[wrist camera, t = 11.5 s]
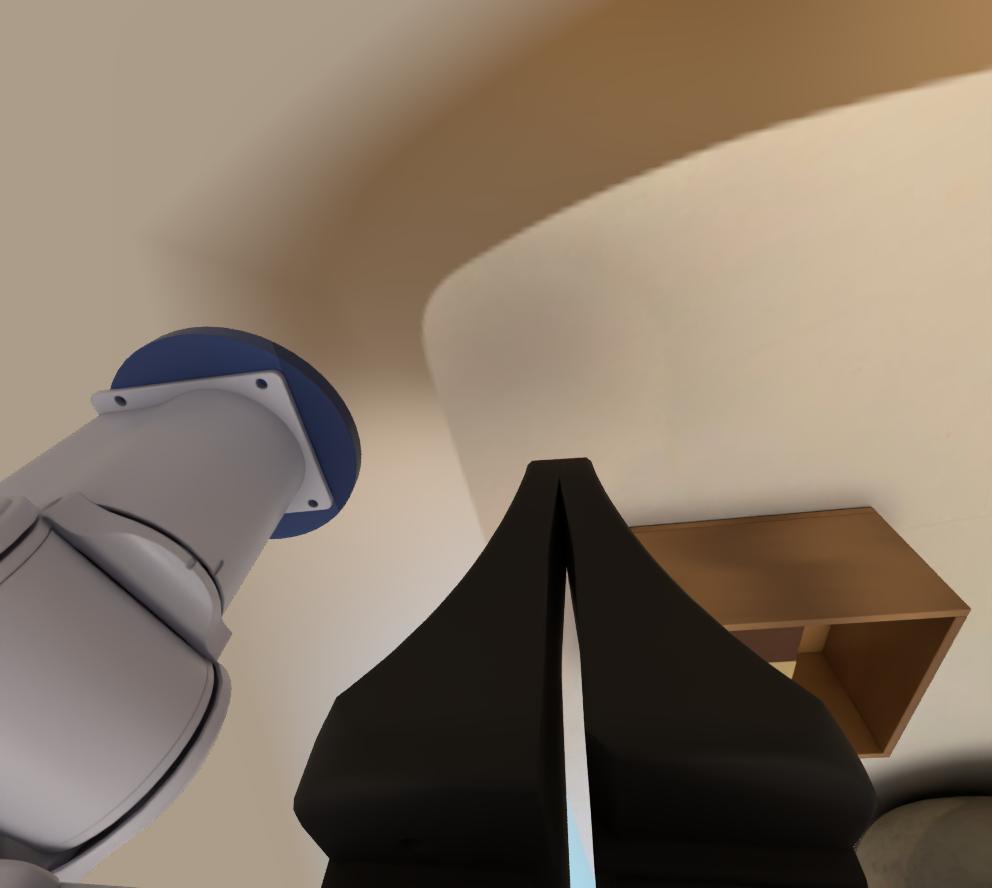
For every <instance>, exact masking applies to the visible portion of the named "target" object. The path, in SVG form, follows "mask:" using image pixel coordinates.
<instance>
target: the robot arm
mask: <svg viewBox="0 0 992 888" xmlns="http://www.w3.org/2000/svg"><path fill="white" fill-rule="evenodd" d="M259 379H263V380H265V381H266V383H267V385H263V384H262V383H261V382H260V380H259ZM121 397H122V398H124V399H125V400H126V402H125V401H123V400H122V399H121ZM91 403H92V405H93V406H94V408H95V409H96V411H97V413H98V414H99V416H98V417H96V418H95V419H93V420H92V421H90V422H89V423H88V424H86V425H85V426H83V427H82V428H80V429H79V430H77V431H76V432H74V433H73V434H71V435H70V436H68V437H67V438H65V439H64V440H62V441H61V442H59V443H58V444H56V445H55V446H53V447H52V448H51V449H49V450H47V451H46V452H44V453H43V454H41V455H40V456H38V457H37V458H36V459H34V460H33V461H31V462H30V463H28V464H27V465H25V466H24V467H22V468H21V469H19V470H18V471H16V472H15V473H13V474H12V475H11V476H9V477H7V478H6V479H4V480H3V481H2V482H0V888H133V887H120V886H107V885H93V884H80V883H79V882H80V881H81V880H82V879H83V878H84V877H85V876H86V875H87V874H88V873H90V872H91V871H92V870H93V869H94V868H95V867H96V866H97V865H98V864H99V863H101V862H102V861H103V860H104V859H105V858H107V857H108V856H109V855H110V854H112V853H113V852H114V851H116V850H117V849H118V848H120V847H121V846H122V845H124V844H125V843H126V842H128V841H129V840H130V839H132V838H133V837H134V836H136V835H137V834H138V833H139V832H140V831H142V830H143V829H145V828H146V827H147V826H149V825H150V824H151V823H152V822H153V821H154V820H156V819H157V818H158V817H159V816H160V815H161V814H162V813H163V812H164V811H165V810H166V809H167V808H168V807H169V806H170V805H171V804H172V803H173V802H174V801H175V800H176V799H177V798H178V796H179V795H180V794H181V793H182V792H183V791H184V789H185V788H186V787H187V786H188V784H189V783H190V782H191V781H192V779H193V778H194V777H195V775H196V774H197V772H198V771H199V770H200V768H201V767H202V765H203V763H204V762H205V760H206V758H207V757H208V755H209V753H210V752H211V750H212V748H213V746H214V744H215V742H216V740H217V738H218V735H219V733H220V730H221V727H222V725H223V722H224V719H225V717H226V714H227V710H228V707H229V703H230V697H231V689H232V688H231V680H230V677H229V674H228V672H227V670H226V669H225V668H224V667H223V666H222V665H221V664H219V663H218V662H217V660H218V658H219V656H220V655H221V653H222V651H223V649H224V648H225V646H226V644H227V642H228V641H229V639H230V637H231V635H232V632H231V631H230V630H229V629H228V628H227V627H226V625H225V624H224V622H223V620H222V616H223V614H224V613H225V611H226V609H227V607H228V606H229V604H230V603H231V601H232V599H233V598H234V596H235V594H236V593H237V591H238V589H239V588H240V586H241V585H242V583H243V581H244V579H245V578H246V576H247V574H248V573H249V571H250V570H251V568H252V566H253V565H254V563H255V561H256V560H257V558H258V556H259V555H260V553H261V551H262V550H263V548H264V546H265V545H266V543H267V541H268V540H269V538H270V537H271V535H272V533H273V532H274V530H275V528H276V527H277V525H278V523H279V522H280V520H281V518H282V517H283V515H284V513H293V512H304V511H314V510H325V509H329V508H330V507H331V505H332V503H333V501H334V500H333V496H332V494H331V491H330V489H329V486H328V484H327V481H326V479H325V476H324V474H323V471H322V469H321V466H320V464H319V461H318V459H317V456H316V454H315V451H314V449H313V446H312V444H311V441H310V439H309V436H308V434H307V431H306V429H305V426H304V424H303V421H302V419H301V416H300V414H299V411H298V409H297V406H296V404H295V401H294V399H293V396H292V394H291V391H290V389H289V386H288V384H287V381H286V379H285V377H284V375H283V374H282V373H281V372H279V371H277V370H263V371H255V372H247V373H239V374H231V375H223V376H215V377H207V378H199V379H191V380H183V381H175V382H167V383H159V384H151V385H143V386H135V387H127V388H119V389H111V390H103V391H98V392H97V393H95V394H93V395H92V396H91ZM312 500H315V501H317V503H315V502H313V501H312ZM566 568H567V572H568V578H569V585H570V591H571V598H572V604H573V611H574V617H575V624H576V630H577V636H578V643H579V649H580V660H581V677H582V694H583V711H584V728H585V742H586V755H587V768H588V781H589V794H590V808H591V822H592V838H593V854H594V869H595V880H596V888H868V883H867V879H866V876H865V874H864V872H863V869H862V867H861V865H860V862H859V860H858V857H857V855H856V853H855V850H854V848H853V847H854V845H855V844H856V842H857V841H858V839H859V837H860V836H861V834H862V833H863V831H864V830H865V828H866V827H867V825H868V824H869V822H870V821H871V819H872V817H873V815H874V812H875V809H876V806H877V803H878V798H877V796H876V793H875V790H874V788H873V785H872V783H871V781H870V779H869V776H868V774H867V772H866V770H865V768H864V766H863V764H862V762H861V761H860V759H859V757H858V755H857V753H856V752H855V750H854V748H853V747H852V745H851V744H850V742H849V740H848V739H847V737H846V736H845V734H844V732H843V731H842V729H841V728H840V726H839V725H838V723H837V722H836V720H835V719H834V717H833V716H832V714H831V713H830V711H829V710H828V708H827V707H826V705H825V704H824V702H823V701H822V700H820V699H819V698H817V697H816V696H814V695H813V694H812V693H810V692H809V691H807V690H806V689H805V688H803V687H802V686H800V685H799V684H797V683H796V682H795V681H793V680H792V679H790V678H789V677H787V676H786V675H785V674H783V673H782V672H780V671H779V670H778V669H776V668H775V667H773V666H772V665H771V664H769V663H768V662H767V661H765V660H764V659H763V658H761V657H760V656H759V655H758V654H756V653H755V652H754V651H753V650H751V649H750V648H749V647H748V646H746V645H745V644H744V643H743V642H741V641H740V640H739V639H738V638H736V637H735V636H734V635H733V634H731V633H730V632H729V631H728V630H727V629H726V628H725V627H723V626H722V625H721V624H720V623H719V622H718V621H717V620H716V619H714V618H713V617H712V616H711V615H710V614H709V613H708V612H707V611H705V610H704V609H703V608H702V607H701V606H700V605H699V604H698V603H696V602H695V601H694V600H693V599H692V598H691V597H690V596H689V595H688V594H687V593H686V592H685V591H684V590H683V589H682V588H681V587H680V586H679V585H678V584H677V583H676V582H675V581H674V580H673V579H672V578H671V577H670V576H669V575H668V574H667V572H666V571H665V570H664V569H663V568H662V567H661V566H660V565H659V564H658V563H657V562H656V560H655V559H654V558H653V557H652V556H651V555H650V553H649V552H648V551H647V550H646V549H645V547H644V546H643V545H642V544H641V542H640V541H639V540H638V538H637V537H636V536H635V535H634V533H633V532H632V531H631V529H630V528H629V527H628V525H627V524H626V522H625V521H624V520H623V518H622V517H621V515H620V514H619V512H618V511H617V509H616V508H615V506H614V505H613V503H612V502H611V500H610V498H609V497H608V495H607V493H606V492H605V490H604V488H603V486H602V485H601V483H600V481H599V479H598V477H597V475H596V473H595V470H594V468H593V465H592V462H591V461H590V460H589V459H588V458H586V457H585V458H569V459H553V460H537V461H532V462H530V463H529V464H528V466H527V469H526V472H525V475H524V477H523V480H522V482H521V485H520V487H519V489H518V491H517V493H516V495H515V497H514V500H513V501H512V503H511V505H510V507H509V509H508V511H507V513H506V514H505V516H504V518H503V520H502V522H501V523H500V525H499V527H498V528H497V530H496V531H495V533H494V535H493V536H492V538H491V539H490V541H489V542H488V544H487V546H486V547H485V549H484V550H483V552H482V553H481V555H480V556H479V557H478V559H477V560H476V562H475V563H474V564H473V566H472V567H471V568H470V570H469V571H468V572H467V573H466V575H465V576H464V577H463V579H462V580H461V581H460V582H459V583H458V585H457V586H456V587H455V588H454V589H453V590H452V592H451V593H450V594H449V595H448V596H447V597H446V599H445V600H444V601H443V602H442V603H441V604H440V606H438V608H437V609H436V610H435V611H434V612H433V613H432V614H431V615H430V616H429V617H428V618H427V619H426V620H425V621H424V622H423V623H422V624H421V625H420V626H419V627H418V628H417V629H416V630H415V631H414V632H413V633H412V634H411V635H410V636H408V637H407V638H406V639H405V640H404V641H403V642H402V643H401V644H400V645H399V646H398V647H397V648H396V649H395V650H394V651H393V652H392V653H391V654H389V655H388V656H387V657H386V658H385V659H384V660H382V661H381V662H380V663H379V664H378V665H376V666H375V667H374V668H373V669H372V670H370V671H369V672H368V673H367V674H365V675H364V676H363V677H362V678H360V679H359V680H358V681H357V682H355V683H354V684H353V685H352V686H351V687H350V688H348V689H347V690H346V691H344V692H343V693H341V694H340V695H339V696H338V697H337V698H336V699H335V702H334V704H333V706H332V708H331V710H330V712H329V714H328V716H327V718H326V720H325V722H324V723H323V726H322V728H321V730H320V732H319V734H318V736H317V739H316V741H315V743H314V747H313V749H312V752H311V754H310V757H309V760H308V762H307V765H306V768H305V770H304V773H303V776H302V778H301V781H300V784H299V787H298V789H297V792H296V795H295V797H294V808H293V809H294V812H295V814H296V816H297V818H298V820H299V822H300V823H301V825H302V827H303V828H304V829H305V830H306V831H307V833H308V834H309V835H310V836H311V837H312V839H313V840H314V841H315V842H316V843H317V844H318V846H319V847H320V848H321V849H322V850H323V852H324V853H325V854H326V855H327V856H328V857H329V862H328V866H327V869H326V873H325V876H324V879H323V883H322V886H321V888H570V870H569V847H568V826H567V825H568V824H567V802H566V777H565V752H564V727H563V701H562V644H563V625H564V607H565V588H566Z"/></svg>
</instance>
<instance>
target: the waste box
mask: <svg viewBox="0 0 992 888" xmlns="http://www.w3.org/2000/svg"><path fill="white" fill-rule="evenodd" d="M630 529H631V531H632V532H633V533H634V535H635V536H636V537H637V538H638V540H639V541H640V542H641V544H642V545H643V546H644V547H645V549H646V550H647V551H648V552H649V553H650V555H651V556H652V557H653V558H654V559H655V560H656V562H657V563H658V564H659V565H660V566H661V567H662V568H663V569H664V570H665V571H666V572H667V574H668V575H669V576H670V577H671V578H672V579H673V580H674V581H675V582H676V583H677V584H678V585H679V586H680V587H681V588H682V589H683V590H684V591H685V592H686V593H687V594H688V595H689V596H690V597H691V598H692V599H693V600H694V601H695V602H696V603H698V604H699V605H700V606H701V607H702V608H703V609H704V610H705V611H707V612H708V613H709V614H710V615H711V616H712V617H713V618H714V619H716V620H717V621H718V622H719V623H720V624H721V625H722V626H723V627H725V628H726V629H727V630H728V631H738V630H753V629H769V628H785V627H800V626H805V628H804V631H803V635H802V639H801V642H800V646H799V649H798V653H797V656H796V666H795V669H794V673H793V676H792V680H793V681H795V682H796V683H797V684H799V685H800V686H802V687H803V688H805V689H806V690H807V691H809V692H810V693H812V694H813V695H814V696H816V697H817V698H819V699H820V700H822V701H823V702H824V704H825V705H826V707H827V708H828V710H829V711H830V713H831V714H832V716H833V717H834V719H835V720H836V722H837V723H838V725H839V726H840V728H841V729H842V731H843V732H844V734H845V736H846V737H847V739H848V740H849V742H850V744H851V745H852V747H853V748H854V750H855V752H856V753H857V755H858V757H859V758H883V757H890V755H891V753H892V751H893V749H894V748H895V746H896V744H897V742H898V740H899V739H900V737H901V735H902V733H903V731H904V730H905V728H906V726H907V724H908V722H909V721H910V719H911V717H912V715H913V713H914V711H915V710H916V708H917V706H918V704H919V702H920V701H921V699H922V697H923V695H924V693H925V692H926V690H927V688H928V686H929V684H930V683H931V681H932V679H933V677H934V675H935V674H936V672H937V670H938V668H939V666H940V665H941V663H942V661H943V659H944V657H945V656H946V654H947V652H948V650H949V648H950V647H951V645H952V643H953V641H954V639H955V638H956V636H957V634H958V632H959V630H960V629H961V627H962V625H963V623H964V621H965V620H966V618H967V615H968V614H969V612H970V611H971V608H970V607H969V606H968V605H967V604H966V603H965V602H964V601H963V600H962V599H961V598H960V597H959V596H958V595H957V594H956V593H955V592H954V591H953V590H952V589H951V588H950V587H949V586H948V585H947V584H946V583H945V582H944V581H943V580H942V579H941V578H940V577H939V576H938V574H937V573H936V572H935V571H934V570H933V569H932V568H931V567H930V566H929V565H928V564H927V563H926V562H925V561H924V560H923V559H922V558H921V557H920V556H919V555H918V554H917V553H916V552H915V551H914V550H913V549H912V548H911V547H910V546H909V545H908V544H907V543H906V542H905V541H904V540H903V538H902V537H901V536H900V535H899V534H898V533H897V532H896V531H895V530H894V529H893V528H892V527H891V526H890V525H889V524H888V523H887V522H886V521H885V520H884V519H883V518H882V517H881V516H880V515H879V514H878V513H877V512H876V511H875V510H874V509H873V508H872V507H868V508H856V509H844V510H832V511H821V512H809V513H797V514H785V515H774V516H762V517H750V518H738V519H727V520H715V521H703V522H691V523H680V524H668V525H656V526H644V527H633V528H630Z"/></svg>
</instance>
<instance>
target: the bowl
mask: <svg viewBox="0 0 992 888" xmlns="http://www.w3.org/2000/svg"><path fill="white" fill-rule="evenodd" d="M855 853H856V855H857V857H858V860H859V862H860V865H861V867H862V869H863V872H864V874H865V876H866V879H867V883H868V888H992V796H959V797H945V798H935V799H926V800H921V801H917V802H913V803H910V804H906V805H902V806H900V807H897V808H895V809H893V810H891V811H889V812H887V813H885V814H884V815H882V816H881V817H880V818H879V819H878V820H876V821H875V822H874V823H873V824H872V825H871V827H870V828H869V829H868V830H867V831H866V833H865V834H864V836H863V838H862V840H861V842H860V843H859V845H858V848H857V850H856V852H855Z"/></svg>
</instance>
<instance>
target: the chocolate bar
mask: <svg viewBox="0 0 992 888" xmlns="http://www.w3.org/2000/svg"><path fill="white" fill-rule="evenodd" d="M804 628H805V626H800V627H785V628H769V629H753V630H738V631H729V632H730V633H731V634H733V635H734V636H735V637H736V638H738V639H739V640H740V641H741V642H743V643H744V644H745V645H746V646H748V647H749V648H750V649H751V650H753V651H754V652H755V653H756V654H758V655H759V656H760V657H761V658H763V659H764V660H765V661H767V662H768V663H769V664H771V665H772V666H773V667H775V668H776V669H778V670H779V671H780V672H782V673H783V674H785V675H786V676H787V677H789V678H790V679H792V676H793V673H794V669H795V666H796V656H797V653H798V649H799V646H800V642H801V639H802V635H803V631H804Z"/></svg>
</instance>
